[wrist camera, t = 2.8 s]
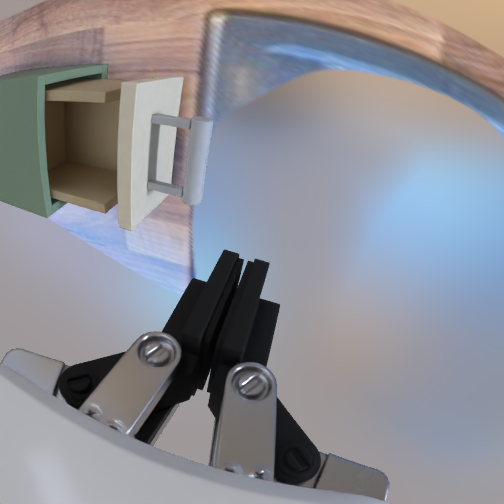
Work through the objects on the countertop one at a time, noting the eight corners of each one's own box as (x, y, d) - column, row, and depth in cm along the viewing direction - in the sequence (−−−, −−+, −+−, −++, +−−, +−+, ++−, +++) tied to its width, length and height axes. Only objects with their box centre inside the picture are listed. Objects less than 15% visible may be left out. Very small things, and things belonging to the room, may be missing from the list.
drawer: (236, 84, 20) (204, 90, 14) (215, 204, 26) (185, 247, 20) (68, 71, 21) (14, 84, 15) (68, 169, 27) (23, 197, 21)
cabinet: (108, 64, 21) (37, 76, 14) (103, 177, 28) (47, 218, 21) (22, 70, 22) (-37, 87, 15) (24, 160, 28) (-26, 191, 21)
